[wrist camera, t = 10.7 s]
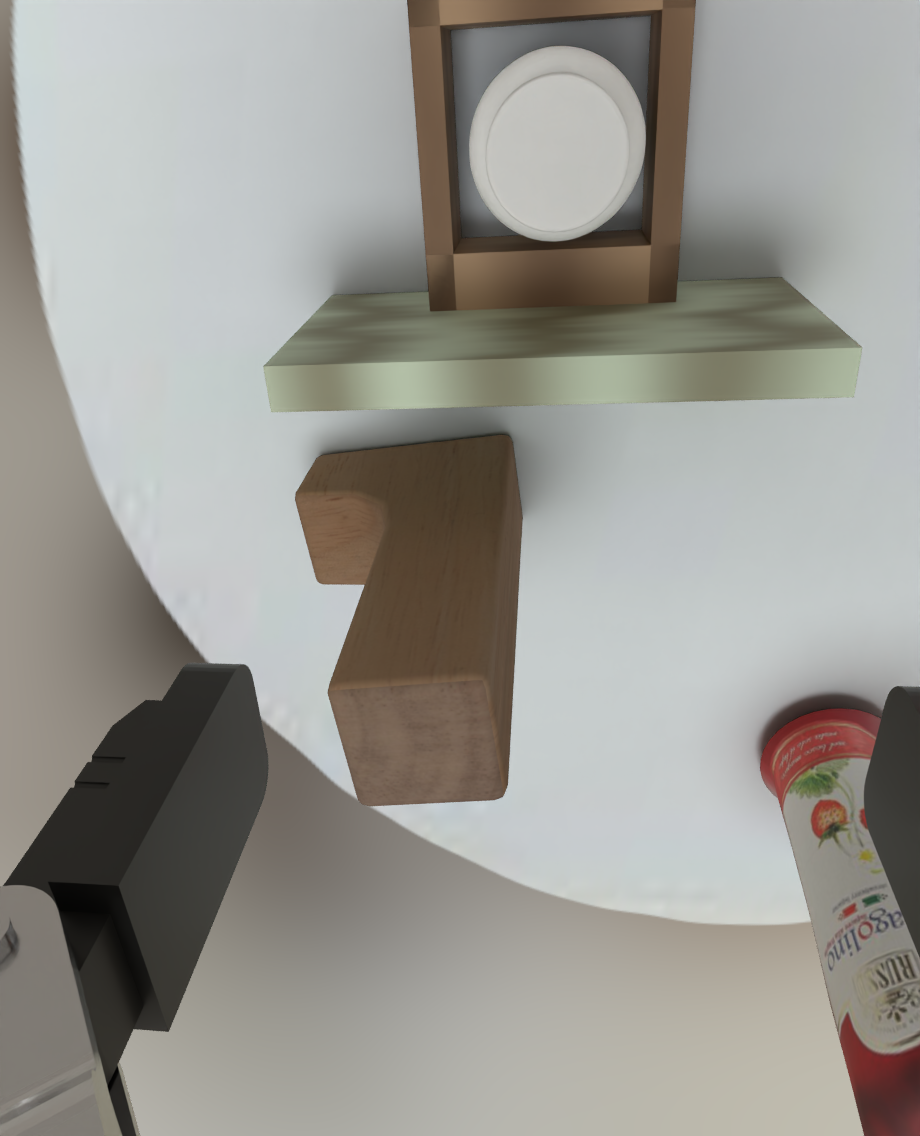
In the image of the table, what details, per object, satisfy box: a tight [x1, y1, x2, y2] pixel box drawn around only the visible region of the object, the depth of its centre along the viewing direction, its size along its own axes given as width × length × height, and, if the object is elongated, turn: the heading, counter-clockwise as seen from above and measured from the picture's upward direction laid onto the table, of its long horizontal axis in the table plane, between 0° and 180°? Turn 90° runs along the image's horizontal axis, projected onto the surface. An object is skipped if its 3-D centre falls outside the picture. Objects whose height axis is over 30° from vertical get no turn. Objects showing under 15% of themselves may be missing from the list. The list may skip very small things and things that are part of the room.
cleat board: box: [263, 0, 862, 412], centre depth 28 cm, size 18×12×10 cm, turn 94°
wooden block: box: [295, 435, 523, 806], centre depth 32 cm, size 9×4×18 cm, turn 99°
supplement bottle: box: [469, 46, 646, 242], centre depth 28 cm, size 5×5×10 cm
